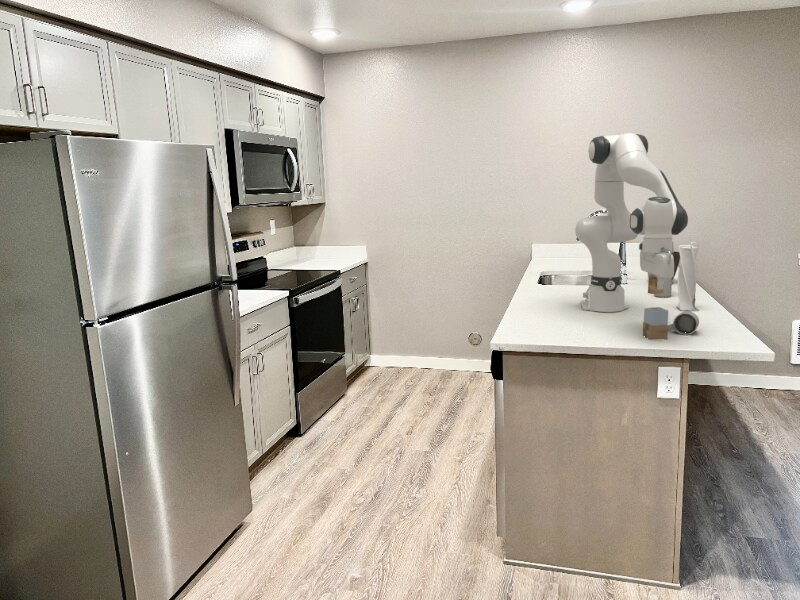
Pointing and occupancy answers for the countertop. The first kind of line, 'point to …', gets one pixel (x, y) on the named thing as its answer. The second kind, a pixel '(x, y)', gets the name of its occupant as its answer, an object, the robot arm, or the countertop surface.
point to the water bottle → (666, 284)
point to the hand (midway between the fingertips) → (655, 287)
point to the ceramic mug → (685, 323)
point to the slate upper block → (656, 316)
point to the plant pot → (676, 261)
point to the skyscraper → (687, 277)
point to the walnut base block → (655, 331)
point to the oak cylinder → (653, 286)
